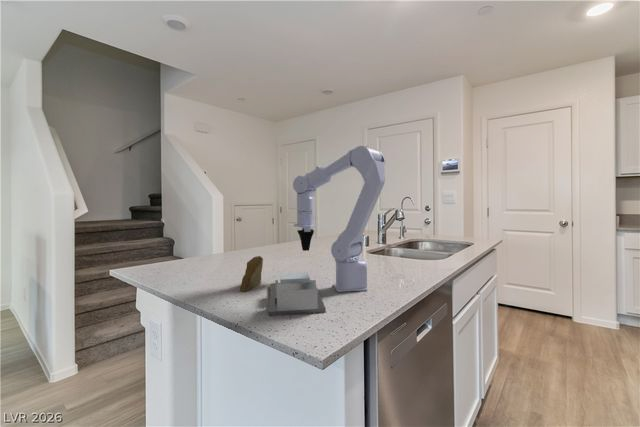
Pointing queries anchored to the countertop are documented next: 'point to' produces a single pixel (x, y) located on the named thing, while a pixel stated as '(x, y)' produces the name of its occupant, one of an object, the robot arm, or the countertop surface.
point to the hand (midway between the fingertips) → (305, 250)
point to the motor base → (295, 299)
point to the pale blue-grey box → (295, 278)
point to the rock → (252, 274)
